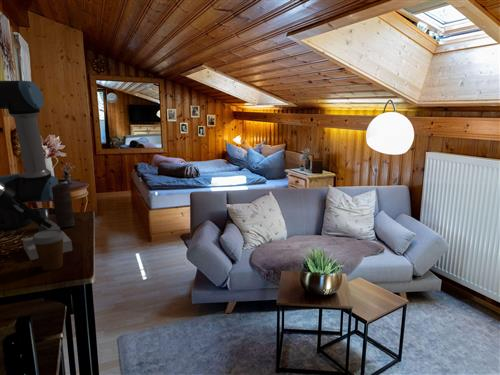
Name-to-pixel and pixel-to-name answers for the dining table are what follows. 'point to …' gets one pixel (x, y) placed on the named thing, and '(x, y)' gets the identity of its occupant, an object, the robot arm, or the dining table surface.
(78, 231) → the dining table surface
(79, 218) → the dining table surface
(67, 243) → the hole block
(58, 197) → the candle
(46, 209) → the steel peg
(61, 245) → the disposable coffee cup
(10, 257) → the dining table surface
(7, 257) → the dining table surface
